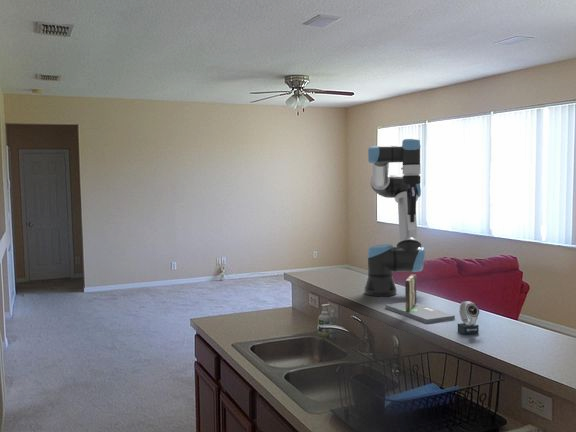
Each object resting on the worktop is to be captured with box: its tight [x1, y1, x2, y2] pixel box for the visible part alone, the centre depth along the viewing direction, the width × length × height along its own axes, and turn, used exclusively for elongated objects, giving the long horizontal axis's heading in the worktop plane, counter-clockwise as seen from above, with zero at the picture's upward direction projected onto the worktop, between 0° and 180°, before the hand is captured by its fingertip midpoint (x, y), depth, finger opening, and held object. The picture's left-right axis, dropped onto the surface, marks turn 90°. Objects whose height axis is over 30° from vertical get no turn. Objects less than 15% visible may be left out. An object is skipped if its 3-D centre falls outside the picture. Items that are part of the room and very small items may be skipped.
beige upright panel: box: [404, 274, 417, 311], centre depth 222 cm, size 15×3×12 cm, turn 158°
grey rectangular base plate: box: [385, 301, 456, 324], centre depth 219 cm, size 28×13×2 cm, turn 23°
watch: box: [457, 300, 480, 336], centre depth 190 cm, size 6×8×11 cm
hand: (411, 229), depth 235 cm, fingers closed
